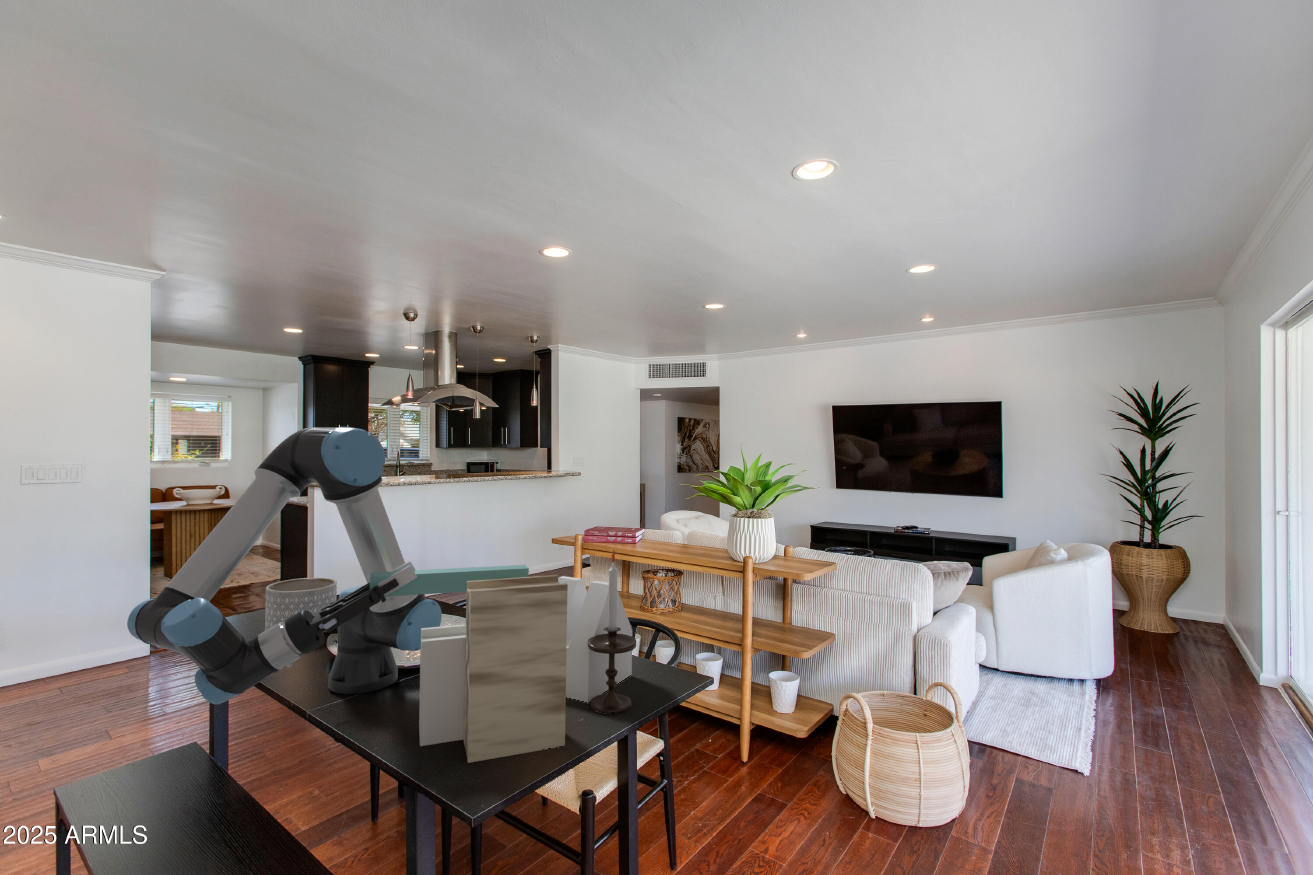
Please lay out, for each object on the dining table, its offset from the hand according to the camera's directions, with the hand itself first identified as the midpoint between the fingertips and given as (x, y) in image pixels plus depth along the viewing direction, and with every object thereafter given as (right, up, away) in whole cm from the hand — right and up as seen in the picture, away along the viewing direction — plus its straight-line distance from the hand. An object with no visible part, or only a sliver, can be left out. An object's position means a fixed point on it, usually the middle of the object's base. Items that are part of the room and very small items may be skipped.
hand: (413, 568), depth 122 cm
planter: (-60, -33, +65) cm, 94 cm away
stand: (+20, -34, -2) cm, 39 cm away
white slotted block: (+30, -34, +29) cm, 54 cm away
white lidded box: (+9, -33, +4) cm, 35 cm away
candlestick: (+38, -34, +16) cm, 53 cm away
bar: (+7, -5, +3) cm, 9 cm away
